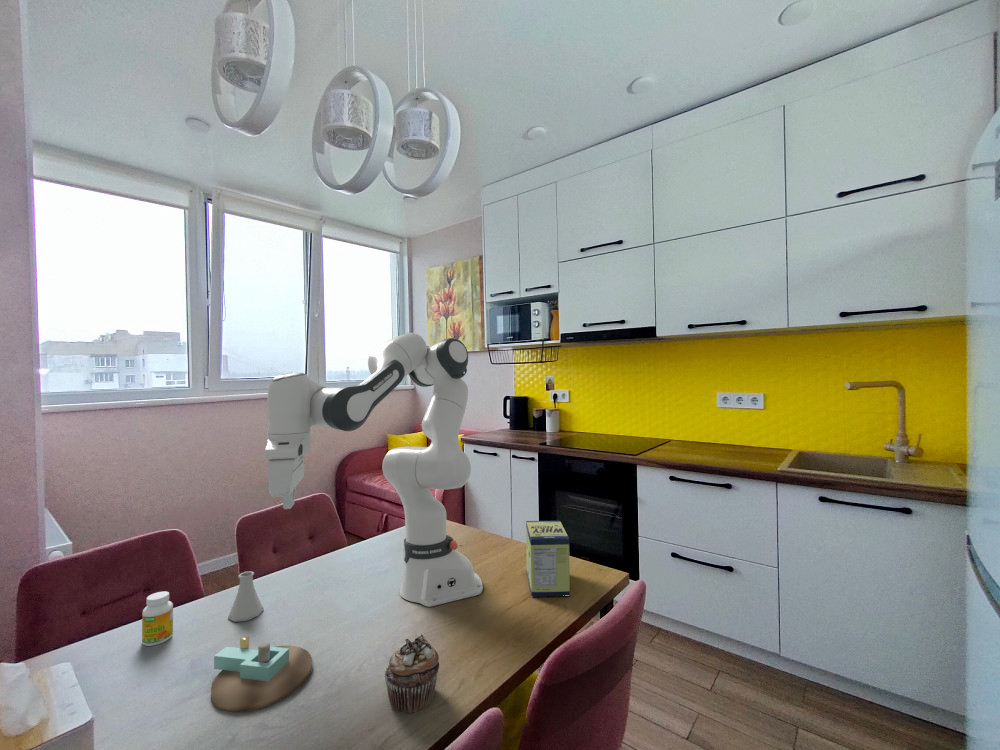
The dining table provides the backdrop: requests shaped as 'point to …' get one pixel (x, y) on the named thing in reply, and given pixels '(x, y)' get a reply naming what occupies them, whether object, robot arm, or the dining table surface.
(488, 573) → the dining table surface
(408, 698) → the cupcake
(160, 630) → the supplement bottle
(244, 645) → the dowel
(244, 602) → the flask
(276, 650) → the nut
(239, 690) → the disc base
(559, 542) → the protein box
